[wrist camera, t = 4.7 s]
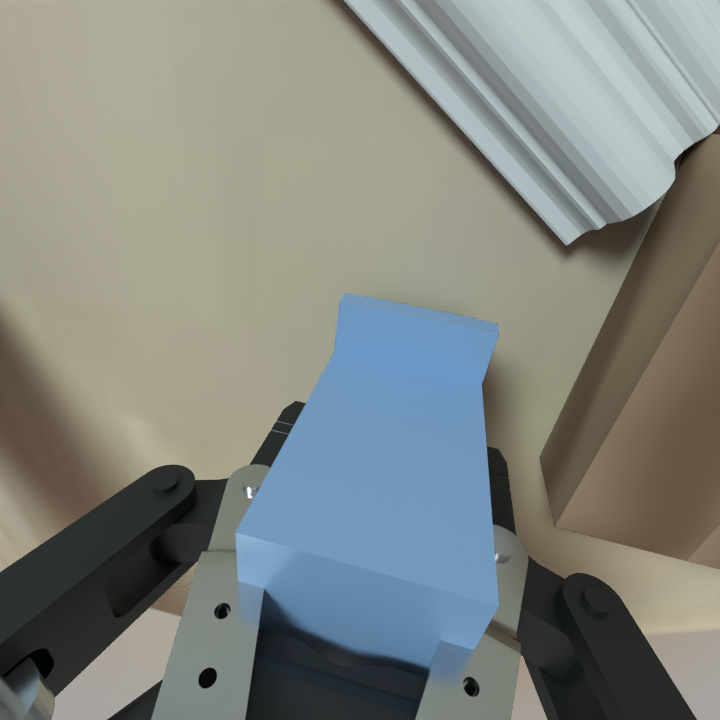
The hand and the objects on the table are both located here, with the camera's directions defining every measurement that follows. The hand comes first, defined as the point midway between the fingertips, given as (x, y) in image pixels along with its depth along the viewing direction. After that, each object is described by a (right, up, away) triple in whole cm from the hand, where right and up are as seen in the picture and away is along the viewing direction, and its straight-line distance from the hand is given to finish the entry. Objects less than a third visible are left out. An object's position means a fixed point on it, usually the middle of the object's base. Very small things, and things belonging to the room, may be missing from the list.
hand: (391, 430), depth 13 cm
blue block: (+1, +2, +3) cm, 3 cm away
